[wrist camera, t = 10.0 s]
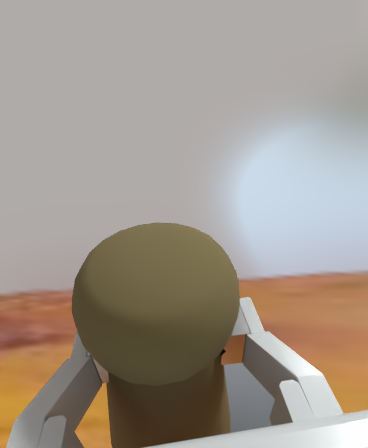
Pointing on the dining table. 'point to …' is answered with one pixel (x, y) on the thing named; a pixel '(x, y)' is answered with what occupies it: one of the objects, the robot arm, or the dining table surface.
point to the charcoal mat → (247, 399)
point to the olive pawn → (159, 331)
